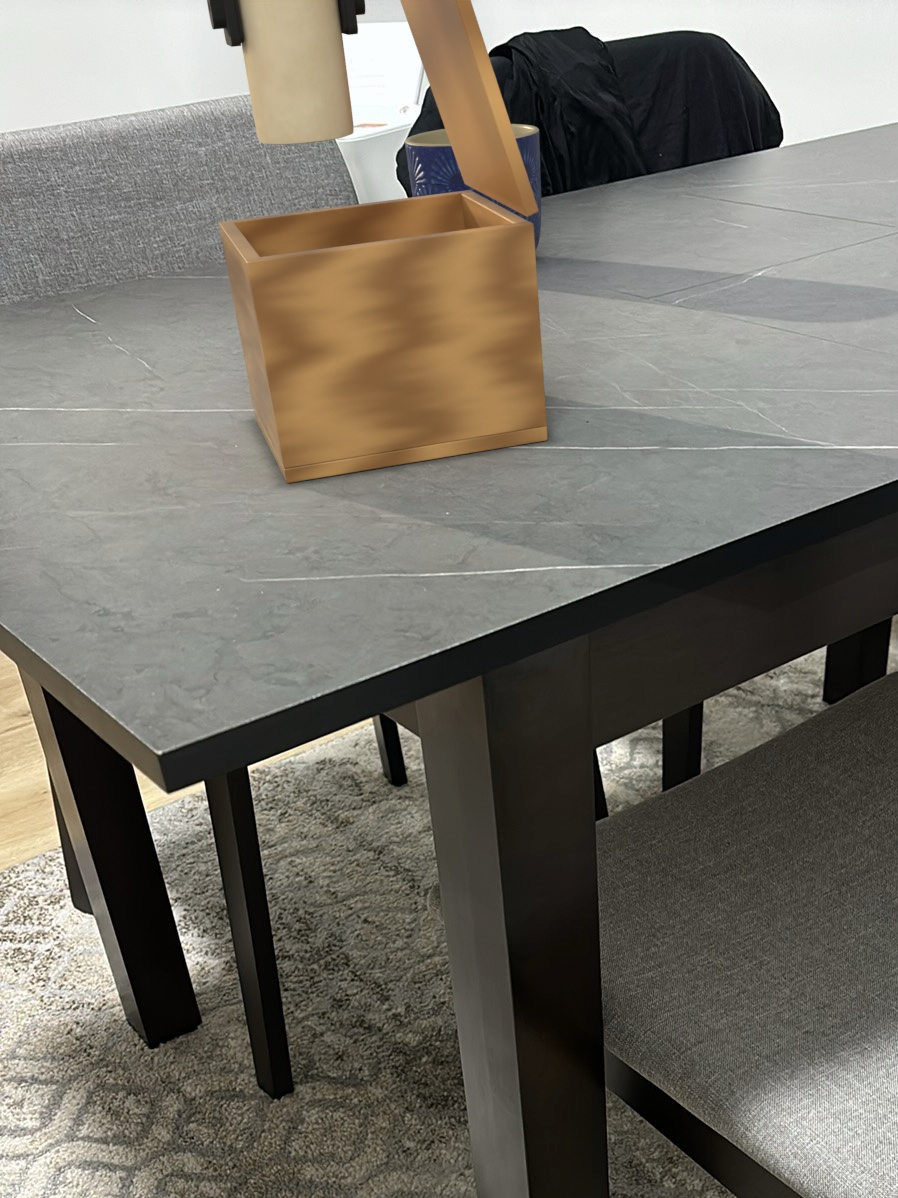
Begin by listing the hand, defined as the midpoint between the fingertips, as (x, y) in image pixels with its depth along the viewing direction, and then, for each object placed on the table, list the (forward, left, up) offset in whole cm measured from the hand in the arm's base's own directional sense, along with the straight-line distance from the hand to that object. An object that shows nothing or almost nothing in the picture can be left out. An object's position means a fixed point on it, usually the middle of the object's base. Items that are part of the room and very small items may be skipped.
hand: (291, 35), depth 76 cm
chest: (+3, +3, -22) cm, 23 cm away
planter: (+22, +52, -23) cm, 61 cm away
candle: (0, 0, -5) cm, 5 cm away
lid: (+9, +3, -1) cm, 9 cm away
